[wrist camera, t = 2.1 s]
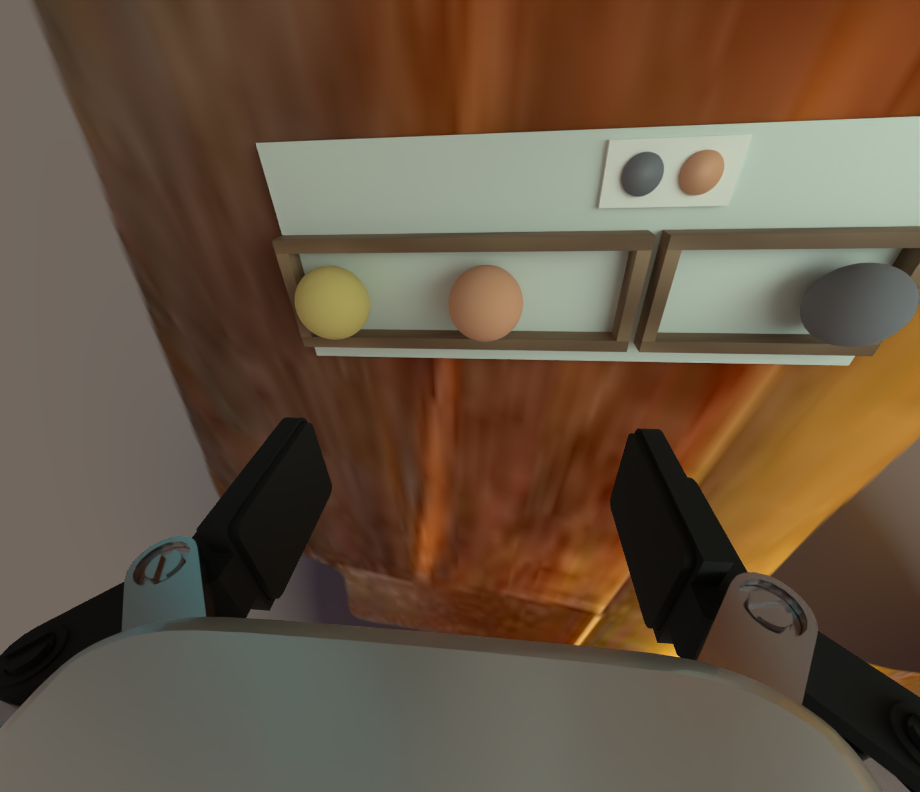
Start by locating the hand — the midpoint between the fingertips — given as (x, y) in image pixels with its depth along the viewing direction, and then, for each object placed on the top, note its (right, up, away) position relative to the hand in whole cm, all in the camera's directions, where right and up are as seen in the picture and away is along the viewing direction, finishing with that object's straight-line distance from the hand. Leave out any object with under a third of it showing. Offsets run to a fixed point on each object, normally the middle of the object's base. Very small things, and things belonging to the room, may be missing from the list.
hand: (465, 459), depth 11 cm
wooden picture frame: (0, +8, +11) cm, 13 cm away
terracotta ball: (+1, +7, +9) cm, 11 cm away
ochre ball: (-7, +7, +10) cm, 14 cm away
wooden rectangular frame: (+16, +8, +9) cm, 20 cm away
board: (+6, +10, +10) cm, 15 cm away
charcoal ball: (+19, +6, +7) cm, 21 cm away
